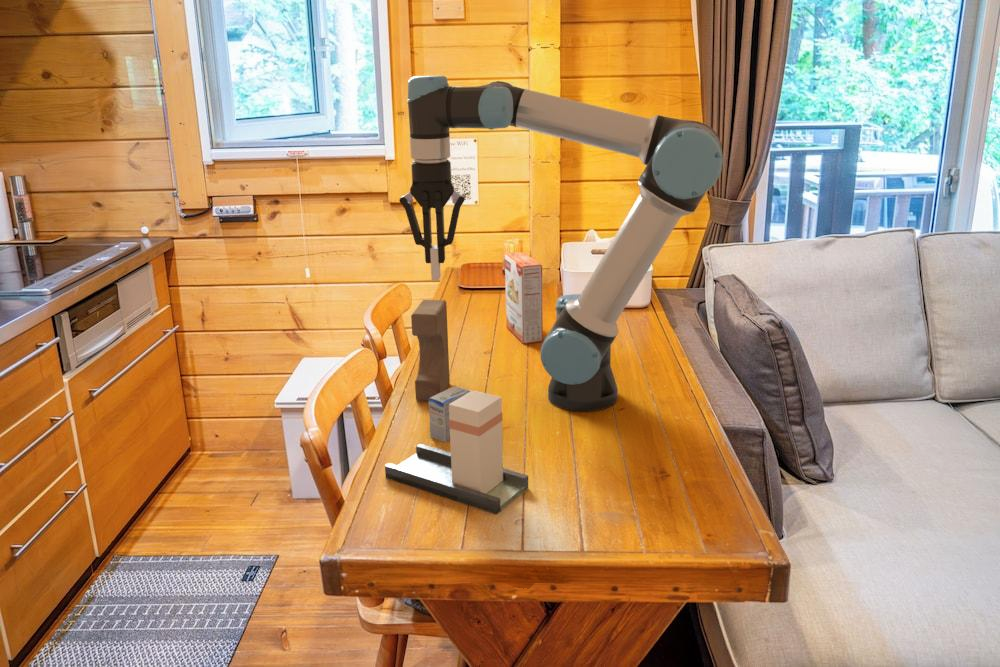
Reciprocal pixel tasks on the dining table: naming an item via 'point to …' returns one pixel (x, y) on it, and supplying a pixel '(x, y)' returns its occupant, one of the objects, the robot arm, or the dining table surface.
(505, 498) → the chute
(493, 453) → the block
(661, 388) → the dining table surface
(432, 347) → the decorative block
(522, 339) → the cracker box
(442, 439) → the medicine box
